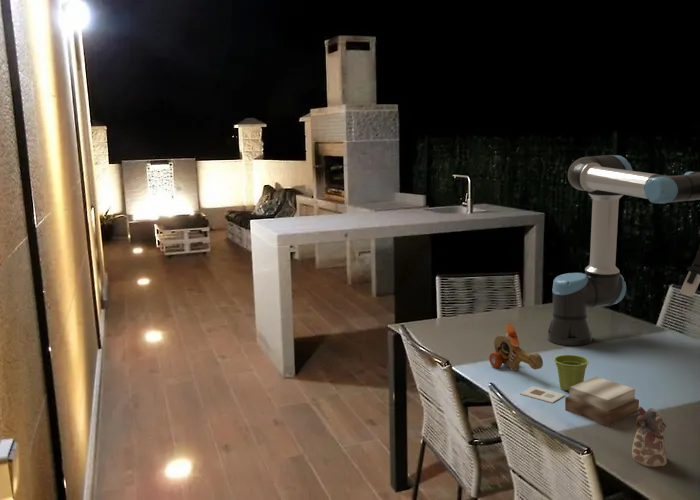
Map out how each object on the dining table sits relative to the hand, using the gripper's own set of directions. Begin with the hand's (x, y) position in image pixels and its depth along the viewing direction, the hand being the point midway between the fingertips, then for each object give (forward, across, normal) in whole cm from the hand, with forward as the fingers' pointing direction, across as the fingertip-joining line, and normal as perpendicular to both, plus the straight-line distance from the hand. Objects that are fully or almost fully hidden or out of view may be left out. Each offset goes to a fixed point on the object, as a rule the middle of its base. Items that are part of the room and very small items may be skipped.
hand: (686, 294), depth 182 cm
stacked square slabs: (+36, -24, +6) cm, 44 cm away
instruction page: (+40, -20, +22) cm, 50 cm away
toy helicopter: (+41, -5, +35) cm, 54 cm away
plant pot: (+37, -12, +16) cm, 42 cm away
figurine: (+36, -45, -10) cm, 59 cm away
